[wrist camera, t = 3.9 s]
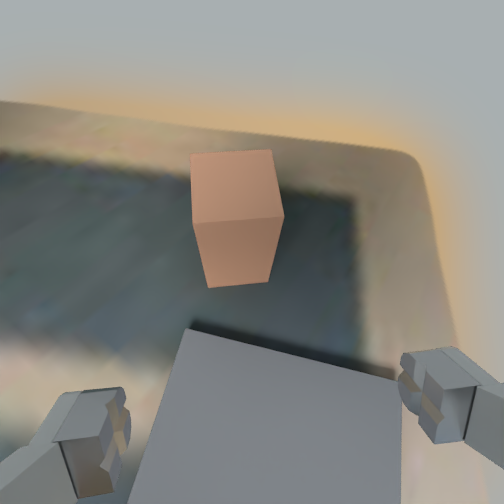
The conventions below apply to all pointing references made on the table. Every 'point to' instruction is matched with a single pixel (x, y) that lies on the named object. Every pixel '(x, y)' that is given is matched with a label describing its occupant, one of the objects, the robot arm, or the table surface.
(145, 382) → the table surface
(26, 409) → the table surface
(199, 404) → the mat
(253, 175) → the block
